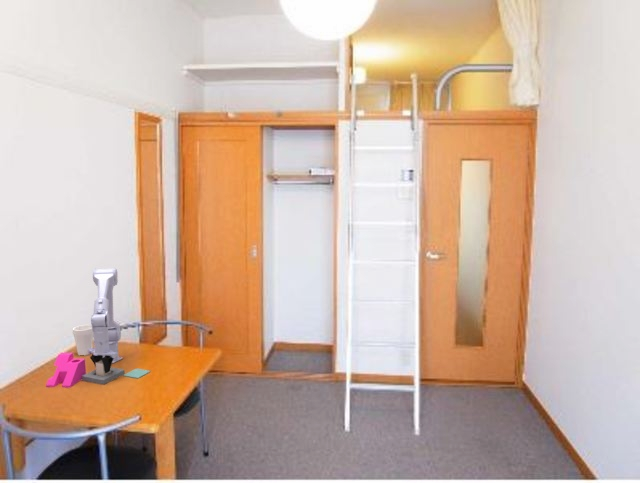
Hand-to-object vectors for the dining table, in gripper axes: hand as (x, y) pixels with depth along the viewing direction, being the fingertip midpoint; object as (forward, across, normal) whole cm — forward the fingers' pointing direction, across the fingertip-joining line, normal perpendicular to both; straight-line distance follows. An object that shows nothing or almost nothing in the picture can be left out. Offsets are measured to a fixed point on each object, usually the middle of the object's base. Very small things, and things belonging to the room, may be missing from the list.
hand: (103, 371), depth 207 cm
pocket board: (+3, 0, 0) cm, 3 cm away
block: (+3, 0, 0) cm, 3 cm away
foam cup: (+3, -31, +19) cm, 36 cm away
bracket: (+3, -12, -9) cm, 15 cm away
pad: (+3, +11, +8) cm, 14 cm away
